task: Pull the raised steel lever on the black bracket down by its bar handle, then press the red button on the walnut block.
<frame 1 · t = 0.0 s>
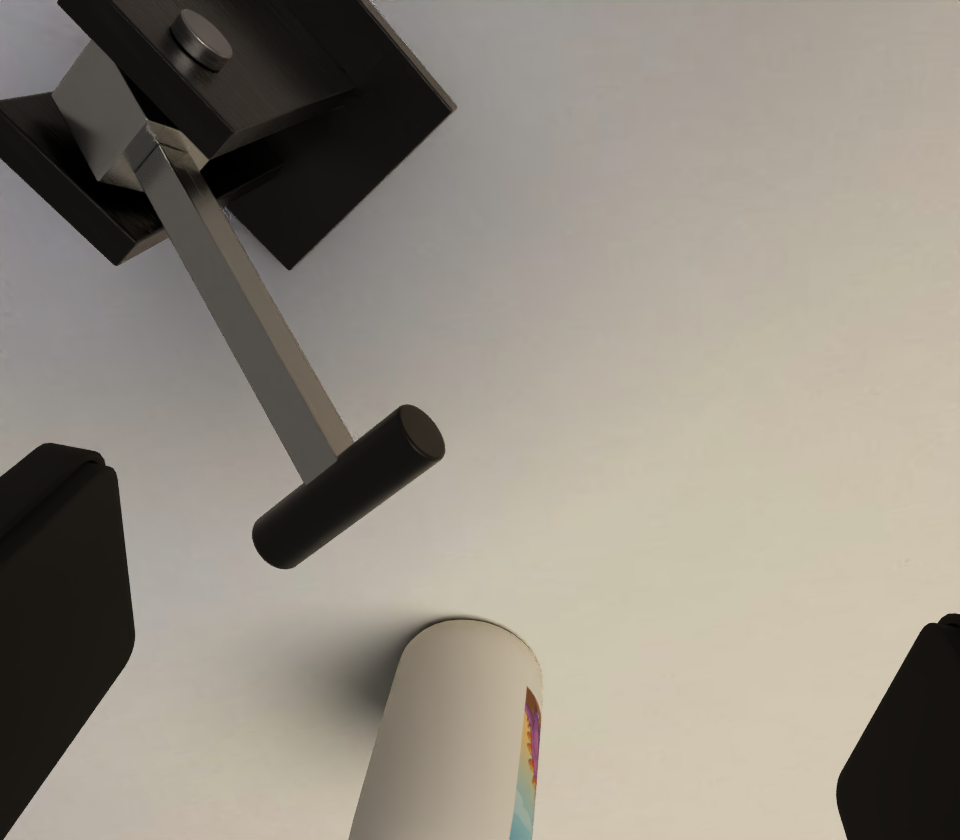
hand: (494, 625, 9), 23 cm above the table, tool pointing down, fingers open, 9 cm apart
milk bottle: (472, 666, 41), on the table
bracket: (277, 84, 28), on the table
lever: (229, 283, 19), point 13 cm above the table, hinge at 30.0°
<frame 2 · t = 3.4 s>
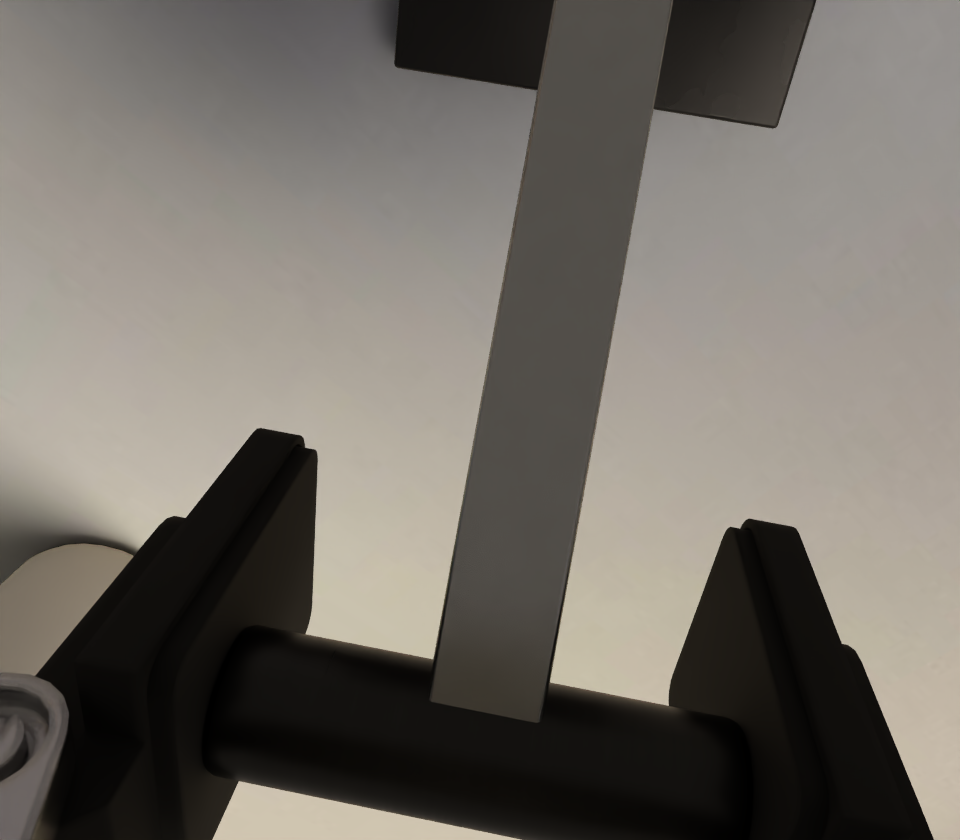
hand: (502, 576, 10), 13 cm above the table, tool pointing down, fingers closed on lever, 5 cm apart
milk bottle: (118, 613, 30), on the table
lever: (582, 166, 8), point 13 cm above the table, hinge at 30.0°, touching gripper
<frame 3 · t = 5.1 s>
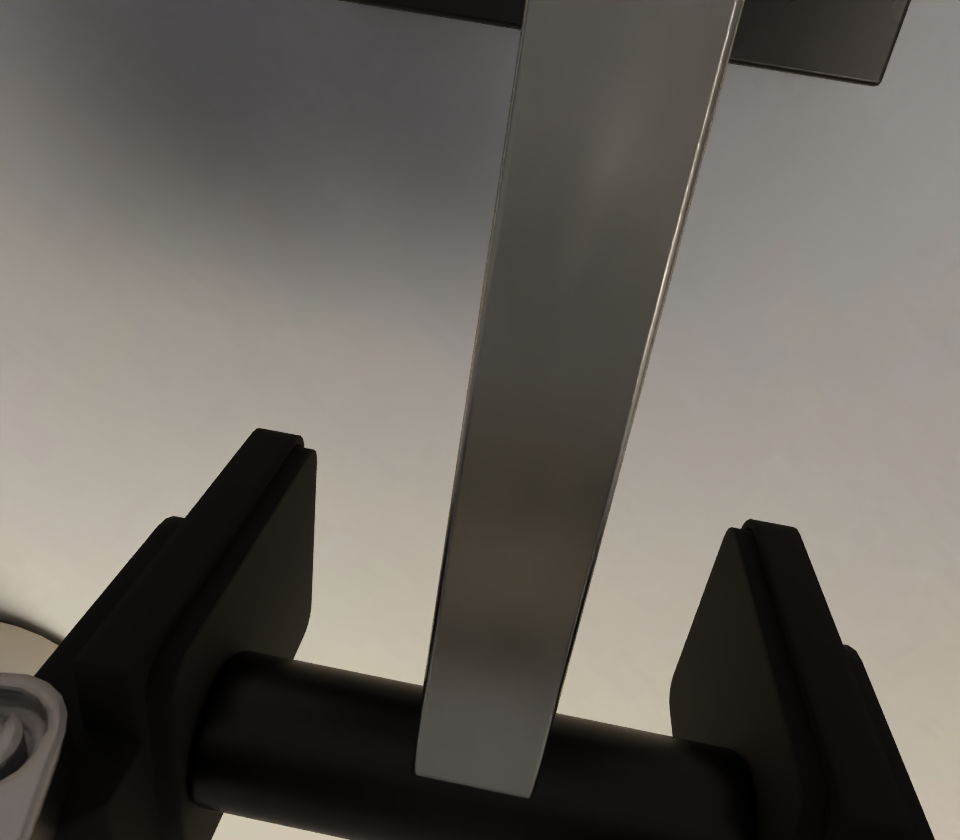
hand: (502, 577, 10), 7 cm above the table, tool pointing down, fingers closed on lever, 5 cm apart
milk bottle: (24, 696, 25), on the table
lever: (601, 139, 5), point 10 cm above the table, hinge at 1.8°, touching gripper
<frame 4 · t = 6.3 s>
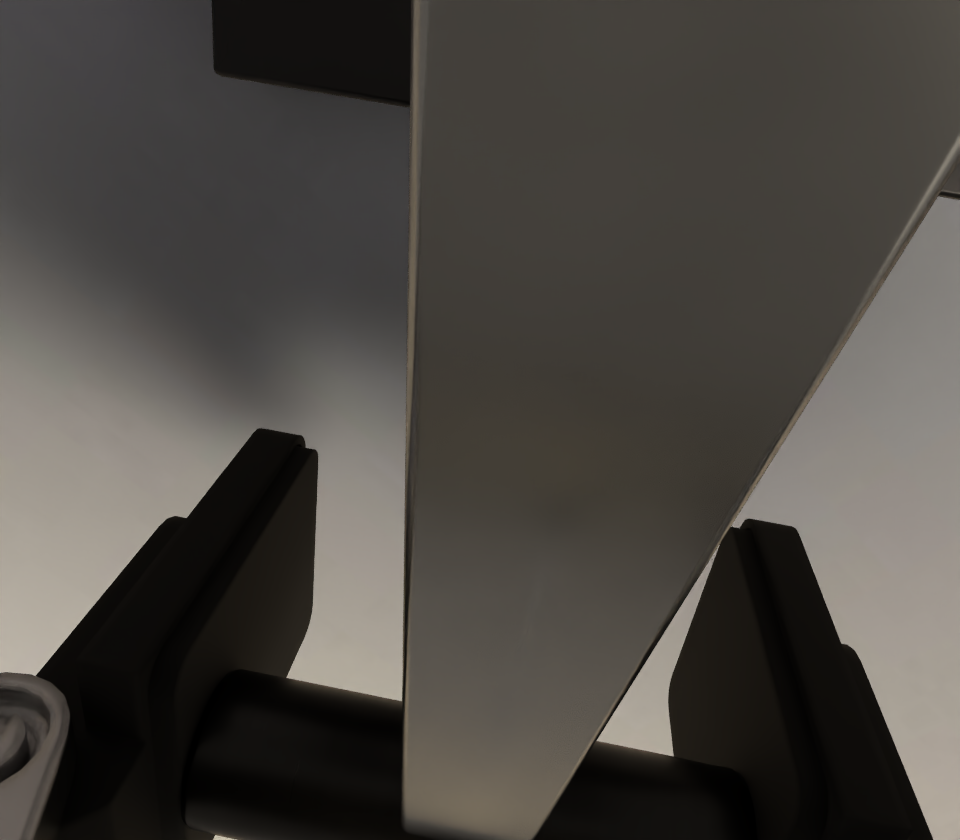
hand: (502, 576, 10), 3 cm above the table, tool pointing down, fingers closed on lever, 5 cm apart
lever: (582, 381, 3), point 8 cm above the table, hinge at -21.1°, touching gripper
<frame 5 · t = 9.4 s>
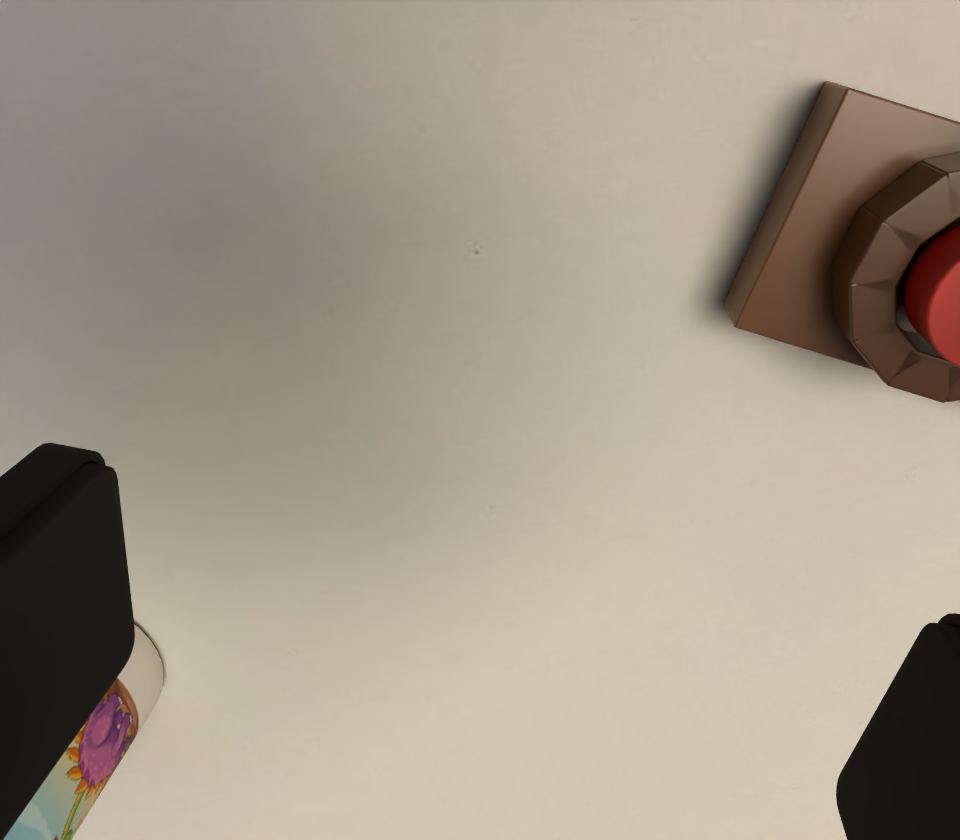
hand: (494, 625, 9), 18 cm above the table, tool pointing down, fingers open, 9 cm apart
milk bottle: (94, 650, 37), on the table
button block: (924, 247, 24), on the table
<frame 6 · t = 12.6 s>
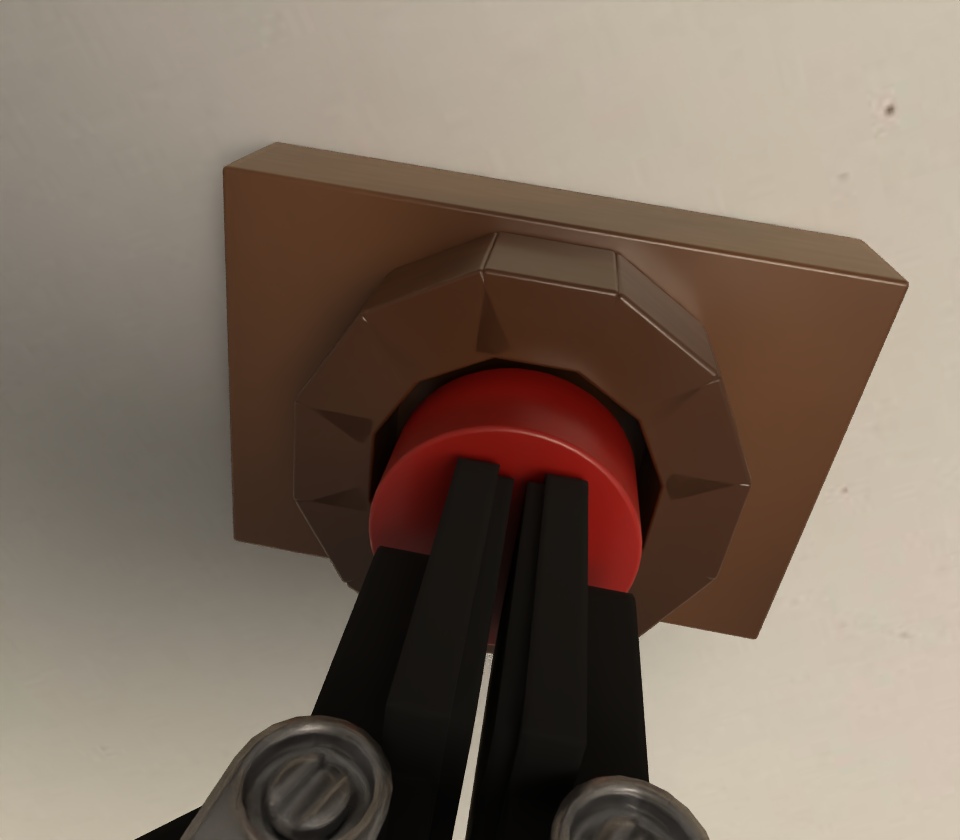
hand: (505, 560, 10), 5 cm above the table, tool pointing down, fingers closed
button: (508, 508, 11), point 4 cm above the table, slide at 0.0 cm, touching gripper
button block: (529, 374, 15), on the table
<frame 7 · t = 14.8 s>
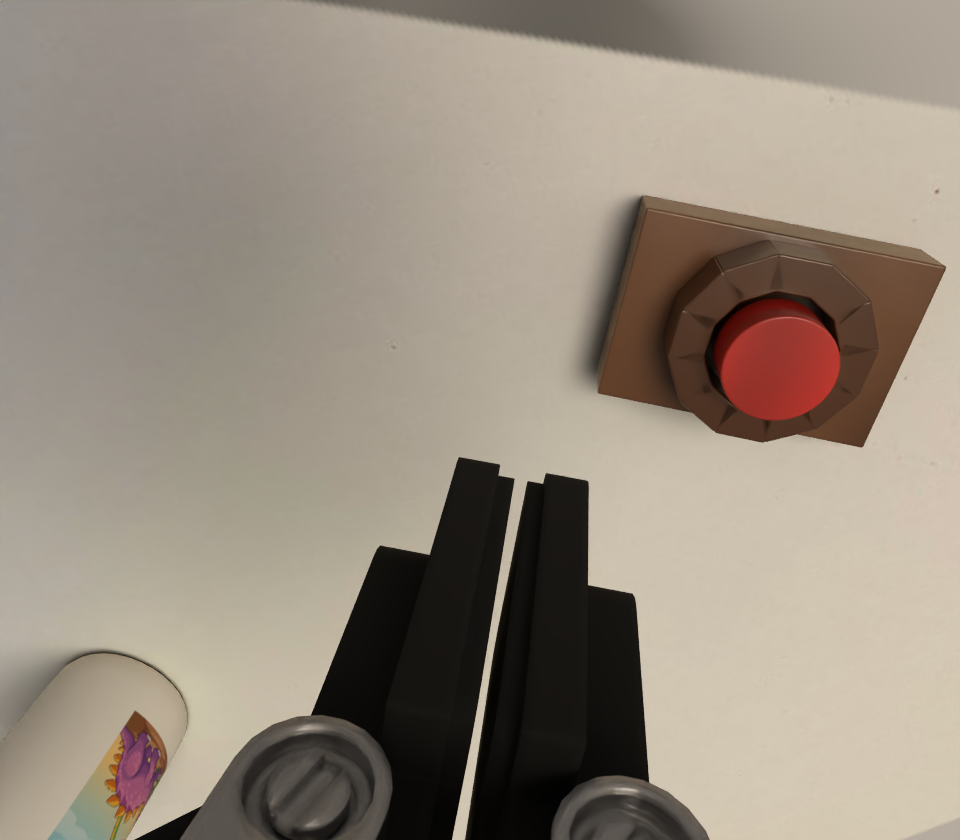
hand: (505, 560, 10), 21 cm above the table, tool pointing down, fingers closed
milk bottle: (128, 697, 44), on the table
button: (774, 359, 25), point 4 cm above the table, slide at 0.1 cm
button block: (749, 313, 29), on the table
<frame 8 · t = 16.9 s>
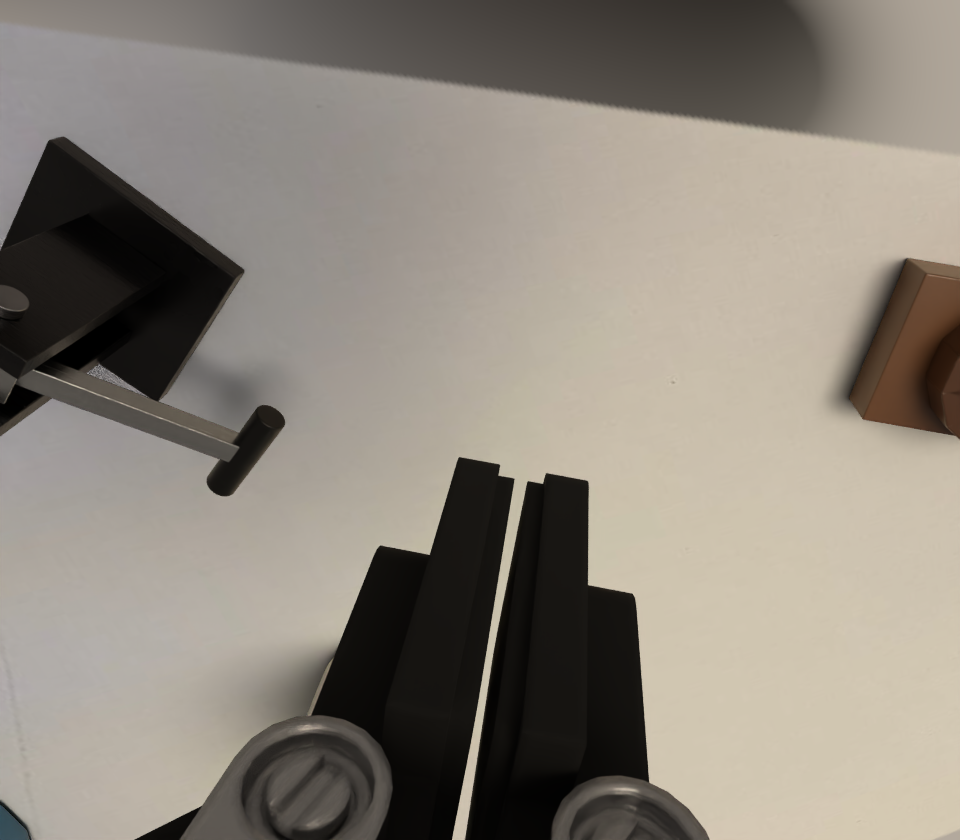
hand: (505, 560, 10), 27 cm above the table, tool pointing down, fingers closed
bracket: (119, 274, 39), on the table
lever: (117, 403, 33), point 8 cm above the table, hinge at -21.7°
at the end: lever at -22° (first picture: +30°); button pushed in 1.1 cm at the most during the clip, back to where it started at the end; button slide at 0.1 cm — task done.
